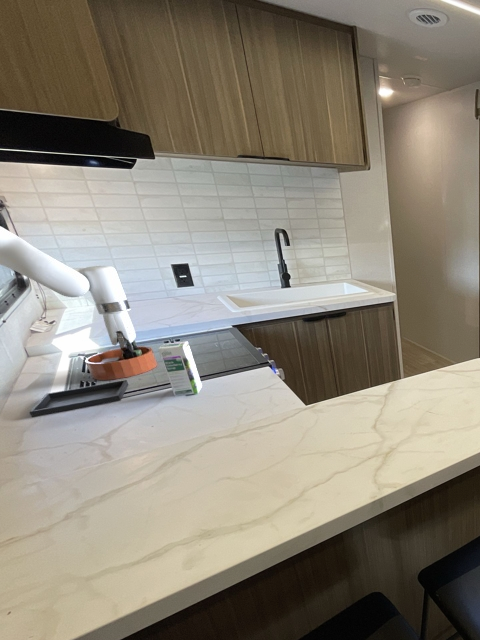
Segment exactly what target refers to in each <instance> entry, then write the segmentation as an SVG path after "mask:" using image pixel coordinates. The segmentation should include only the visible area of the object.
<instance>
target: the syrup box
mask: <svg viewBox="0 0 480 640" xmlns="http://www.w3.org/2000/svg"><path fill="white" fill-rule="evenodd" d="M158 353H159V356H160V358H161V361H162V364H163V366H164V369H165V372H166V376H167V378H168V380H169V383H170V387H171V389H172V393H173V396H174V397H177V396H184V395H186V396H190V395H198V394H199V393H200V391H201V389H202V387H203V383H202V381H201V378H200V375H199V372H198V369H197V365H196V363H195V360H194V357H193V353H192V350H191V347H190V344H189V341H188V340H186V341H178V342H169V343H168V342H167V343H163V344H161V345H160V346H159V347H158Z"/></svg>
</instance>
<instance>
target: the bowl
mask: <svg viewBox="0 0 480 640" xmlns="http://www.w3.org/2000/svg"><path fill="white" fill-rule="evenodd" d="M137 347H138V349H139V350H141V352H142V355H141V356H138V357H134V358H130V359H126V360H123V357H122V355H123V354H122V351H121V348H115V349H110V350H106V351H103V352H100V353H96V354H94V355H91V356H89V357H86V359H85V360H84V362H85V365H86V367H87V369H88V371H89V373H90V376H91V378H92V379H93V380H99V381H111V380H112V381H113V380H120V379H126V378H129V377H130V378H131V377H134V376H138V375H141V374H144V373H147V372H149V371H152V370H154V369H155V368H157V367H158V362H157V358H156V356H155V353H154V350H153V348H152V347H149V346H137ZM135 348H136V347H135ZM115 357H120V358H121V361H115V362H107V363H101V361H102V360H103V359H108V358H115Z"/></svg>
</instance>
